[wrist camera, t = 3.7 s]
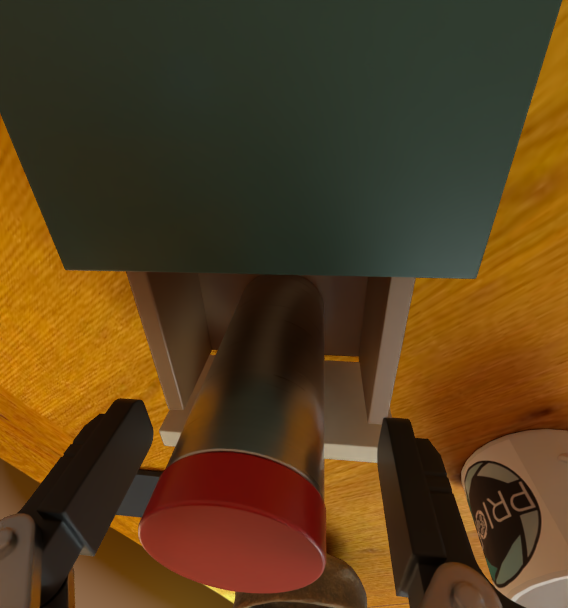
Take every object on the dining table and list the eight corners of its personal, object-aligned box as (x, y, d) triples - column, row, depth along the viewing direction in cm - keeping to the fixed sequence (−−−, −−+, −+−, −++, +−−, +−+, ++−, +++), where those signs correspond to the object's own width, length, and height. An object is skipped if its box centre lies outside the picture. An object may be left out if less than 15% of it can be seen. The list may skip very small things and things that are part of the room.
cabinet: (413, 208, 16) (476, 279, 9) (163, 208, 17) (65, 270, 10) (505, -310, 9) (1061, -1598, 2) (65, -240, 10) (-421, -893, 3)
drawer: (375, 391, 21) (391, 479, 16) (203, 381, 22) (168, 460, 17) (413, 159, 14) (463, 188, 9) (157, 163, 15) (74, 191, 10)
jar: (244, 341, 18) (160, 583, 9) (235, 268, 16) (112, 493, 7) (323, 344, 18) (323, 604, 9) (327, 270, 16) (330, 515, 6)
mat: (117, 509, 35) (114, 514, 34) (92, 465, 31) (89, 470, 30) (207, 519, 34) (205, 524, 33) (193, 474, 30) (191, 479, 29)
